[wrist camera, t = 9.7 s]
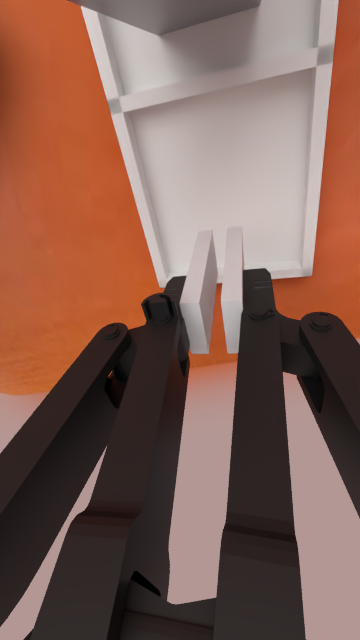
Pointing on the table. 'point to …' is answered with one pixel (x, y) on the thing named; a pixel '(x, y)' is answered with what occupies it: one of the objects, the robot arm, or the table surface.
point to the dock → (220, 122)
